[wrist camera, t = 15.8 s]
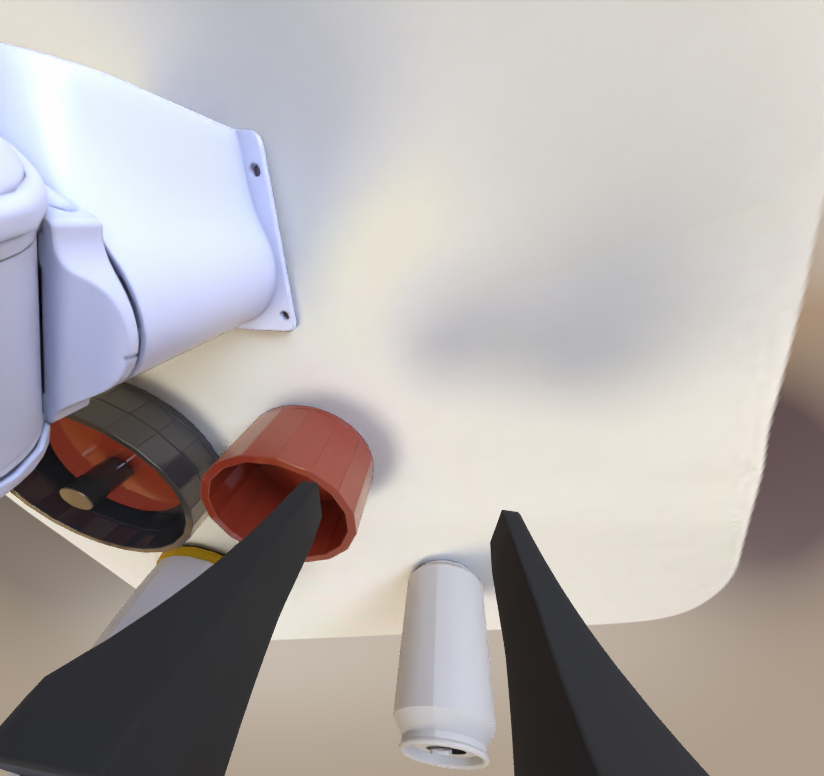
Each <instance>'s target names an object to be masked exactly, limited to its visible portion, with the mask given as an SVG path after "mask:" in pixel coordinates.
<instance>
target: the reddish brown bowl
mask: <svg viewBox="0 0 824 776" xmlns="http://www.w3.org/2000/svg"><path fill="white" fill-rule="evenodd" d="M373 471H374V464H373V458H372V455H371V451H370V449H369V447H368V445H367V444H366V442H365V441H364V439H363V438H362V437H361V436H360V434H359V433H358V432H357V431H356V430H355V429H354V428H353V427H352V426H350V425H349V424H348V423H346V422H345V421H343V420H342V419H340V418H338V417H337V416H335V415H333V414H331V413H328V412H326V411H323V410H320V409H317V408H313V407H308V406H297V405H291V406H282V407H278V408H275V409H272V410H270V411H268V412H266V413H264V414H262V415H261V416H260V417H259V418H258V419H257V420H256V421H255V422H254V423H253V424H252V425H251V426H250V427H249V428H248V429H247V430H246V431H245V432H244V433H243V434H242V435H241V436H240V437H239V438H238V439H237V440H236V441H235V442H234V443H233V444H232V445H231V446H230V447H229V448H228V449H227V451H226V452H225V453H224V454H223V455H222V456H221V457H220V458H219V459H218V460H217V461H216V462H215V463H214V464H213V465H212V466H211V467H210V468H209V469H208V470H207V471H206V472H205V473H204V474H203V476H202V477H201V489H200V498H201V500H202V502H203V504H204V506H205V508H206V510H207V512H208V514H209V516H210V517H211V518H212V519H213V520H214V521H215V522H216V523H217V524H218V525H219V526H220V527H221V528H222V529H223V530H224V531H225V532H226V533H227V534H228V535H229V536H231V537H232V538H234V539H236V540H237V541H239V542H240V541H241V540H243V539H244V538H245V537H246V536H247V535H248V534H249V533H250V532H251V531H253V530H254V529H255V528H256V527H257V526H258V525H259V524H260V523H261V522H262V521H263V520H264V519H265V518H266V517H267V516H268V515H269V514H270V513H271V512H272V511H273V510H274V509H275V508H276V507H277V506H278V505H279V504H280V503H281V502H282V501H283V500H284V499H285V498H286V497H287V496H288V495H289V494H290V493H291V492H292V491H293V490H294V489H295V488H296V487H297V486H298V485H299V484H300V483H301V482H302V481H307V482H314V483H318V487H319V496H320V505H321V513H322V518H321V521H320V524H319V527H318V530H317V533H316V535H315V538H314V541H313V544H312V546H311V548H310V551H309V553H308V555H307V557H306V559H305V561H304V562H311V561H318V560H326V559H331V558H332V557H334V556H336V555H338V554H340V553H342V552H344V551H345V550H347V549H348V548H349V546H350V544H351V542H352V541H353V539H354V537H355V535H356V533H357V530H358V527H359V523H360V520H361V517H362V513H363V510H364V506H365V503H366V500H367V496H368V493H369V490H370V486H371V483H372V479H373Z"/></svg>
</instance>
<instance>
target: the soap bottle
mask: <svg viewBox="0 0 824 776" xmlns="http://www.w3.org/2000/svg"><path fill="white" fill-rule="evenodd" d="M222 557H223V556H222V555H220V554H218V553H215V552H212V551H208V550H205V549H201V548H197V547H185V546H180V547H178V548H175V549H172V550H169V551H166V552H163V553H162V554H161V556H160V558H159V559H158V561H157V565H156V567H155V568H154V569H153V570H152V571H151V573H150V574H149V575H148V576H147V577H146V578H145V580H144V581H143V582H142V583H141V584H140V585H139V587H138V588H137V589H136V590H135V592H134V593H133V594H132V596H131V597H130V598H129V600H128V601H127V602H126V603H125V605H124V606H123V607H122V608H121V610H120V611H119V612H118V614H117V615H116V616H115V618H114V619H113V620H112V621H111V623H110V624H109V625H108V627H107V628H106V629H105V630H104V632H103V633H102V635H101V636H100V637H99V639H98V640H97V642H96V643H95V644H94V646H93V647H92V648H94V647H95V646H97V645H99V644H100V643H102V642H104V641H105V640H107V639H108V638H110V637H112V636H113V635H115V634H116V633H118V632H119V631H121V630H122V629H124V628H125V627H127V626H128V625H130V624H131V623H133V622H134V621H136V620H137V619H139V618H140V617H142V616H143V615H145V614H146V613H148V612H149V611H151V610H152V609H154V608H155V607H157V606H158V605H160V604H161V603H163V602H164V601H165V600H167V599H168V598H170V597H171V596H173V595H174V594H175V593H177V592H178V591H179V590H181V589H182V588H183V587H185V586H186V585H187V584H189V583H190V582H191V581H193V580H194V579H195V578H197V577H198V576H199V575H201V574H202V573H203V572H204V571H206V570H207V569H208V568H210V567H211V566H212V565H213V564H215V563H216V562H217V561H218V560H219V559H221V558H222ZM7 776H20V775H18V774H15V773H12V772H9V773H8V775H7Z"/></svg>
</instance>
